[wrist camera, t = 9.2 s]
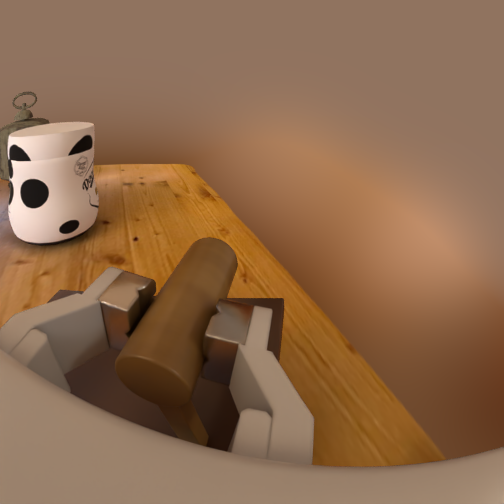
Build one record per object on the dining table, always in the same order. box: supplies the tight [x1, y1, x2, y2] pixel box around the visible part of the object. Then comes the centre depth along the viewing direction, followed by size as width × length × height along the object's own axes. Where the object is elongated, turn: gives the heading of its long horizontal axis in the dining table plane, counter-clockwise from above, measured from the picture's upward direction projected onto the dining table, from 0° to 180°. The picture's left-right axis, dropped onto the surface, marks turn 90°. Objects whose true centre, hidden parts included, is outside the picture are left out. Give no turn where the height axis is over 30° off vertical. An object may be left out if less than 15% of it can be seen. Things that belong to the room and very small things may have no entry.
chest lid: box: [47, 238, 284, 452], centre depth 11 cm, size 16×13×6 cm
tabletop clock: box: [0, 92, 50, 188], centre depth 49 cm, size 14×9×25 cm, turn 115°
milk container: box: [8, 122, 99, 245], centre depth 39 cm, size 17×17×18 cm
